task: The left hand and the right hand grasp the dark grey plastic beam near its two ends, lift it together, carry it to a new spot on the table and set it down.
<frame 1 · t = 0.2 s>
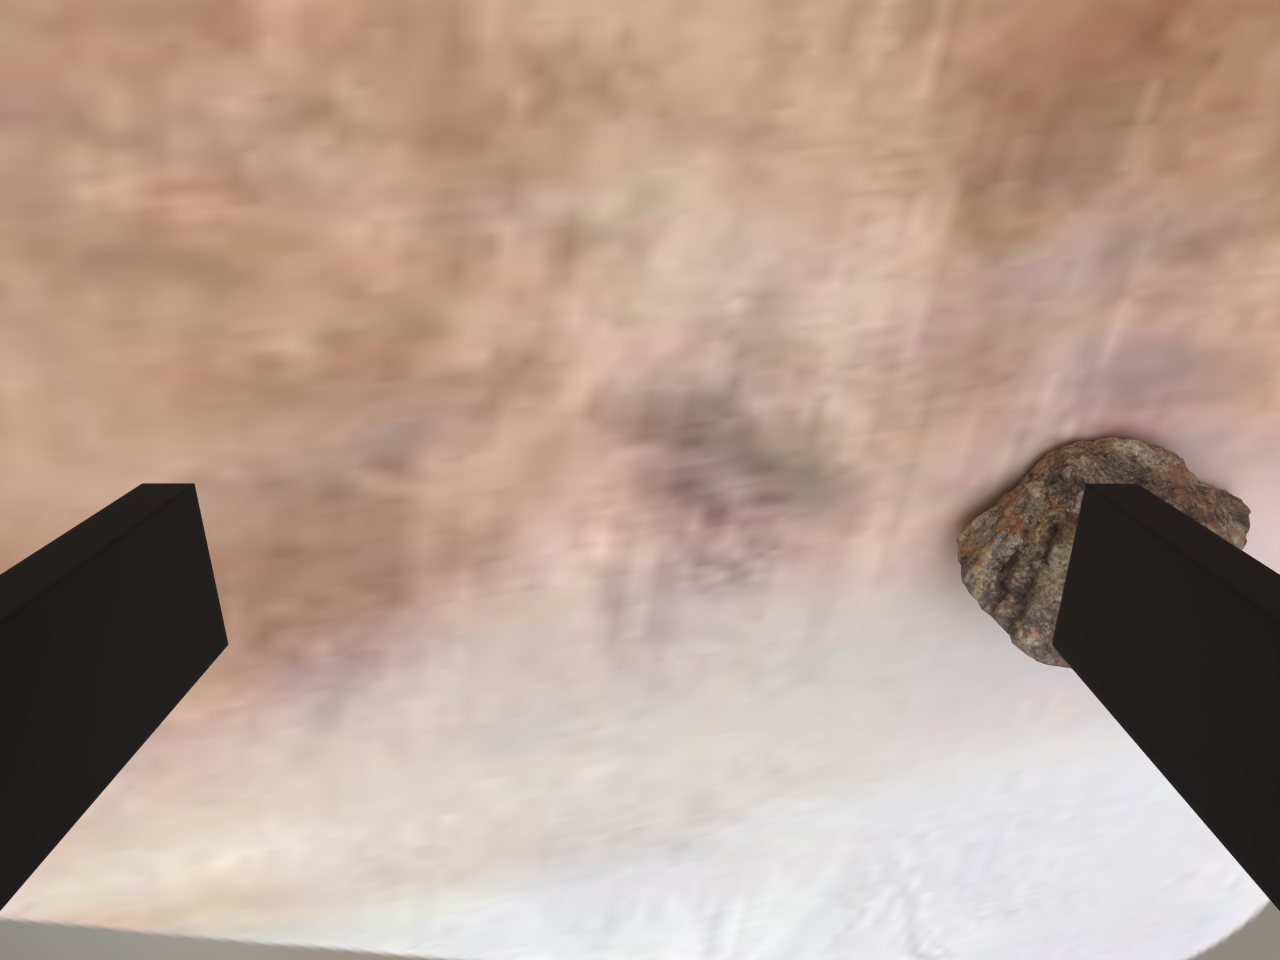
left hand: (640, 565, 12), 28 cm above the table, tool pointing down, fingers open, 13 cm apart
rock: (1090, 523, 43), on the table
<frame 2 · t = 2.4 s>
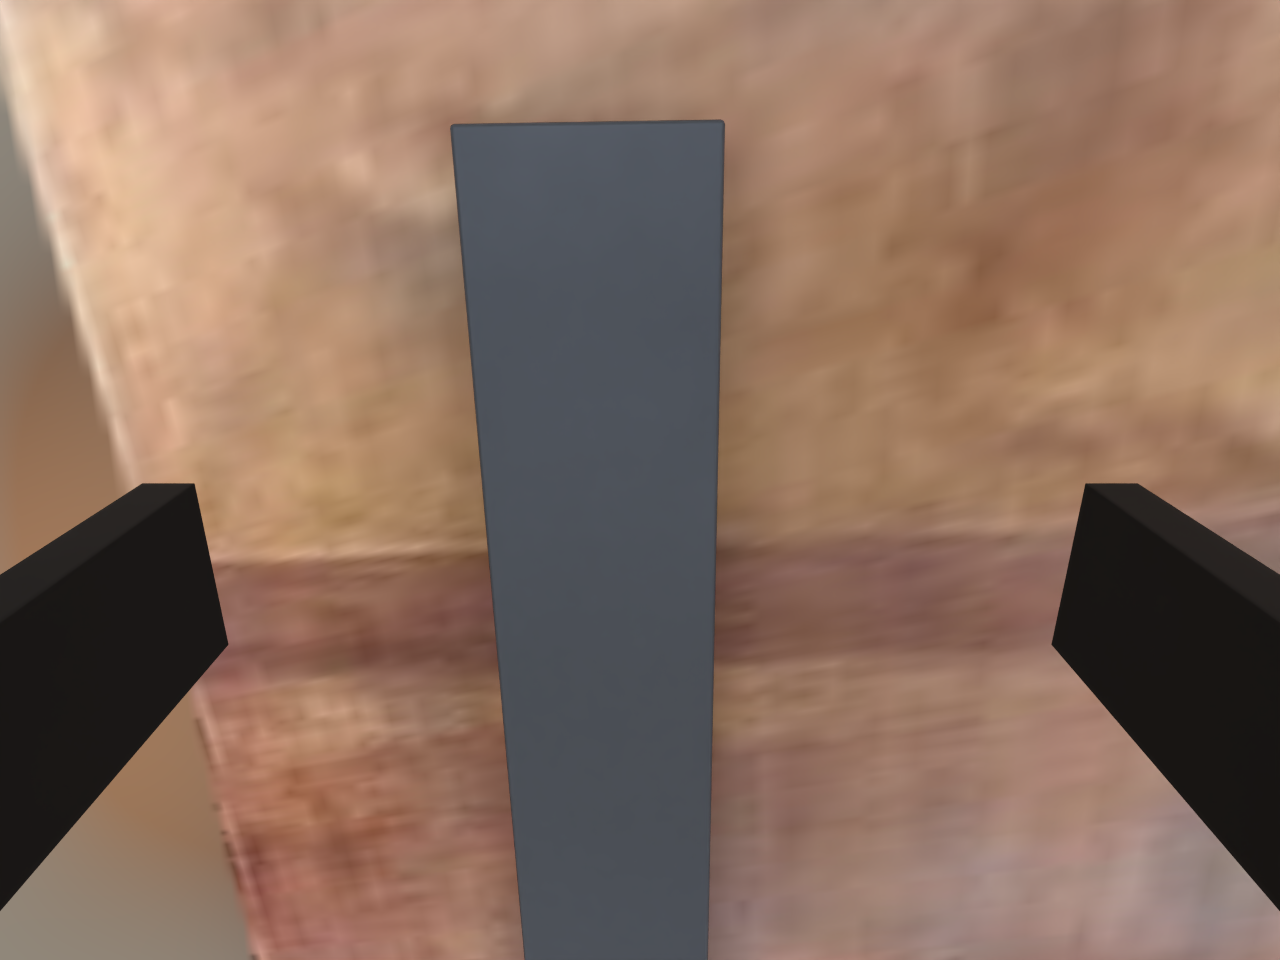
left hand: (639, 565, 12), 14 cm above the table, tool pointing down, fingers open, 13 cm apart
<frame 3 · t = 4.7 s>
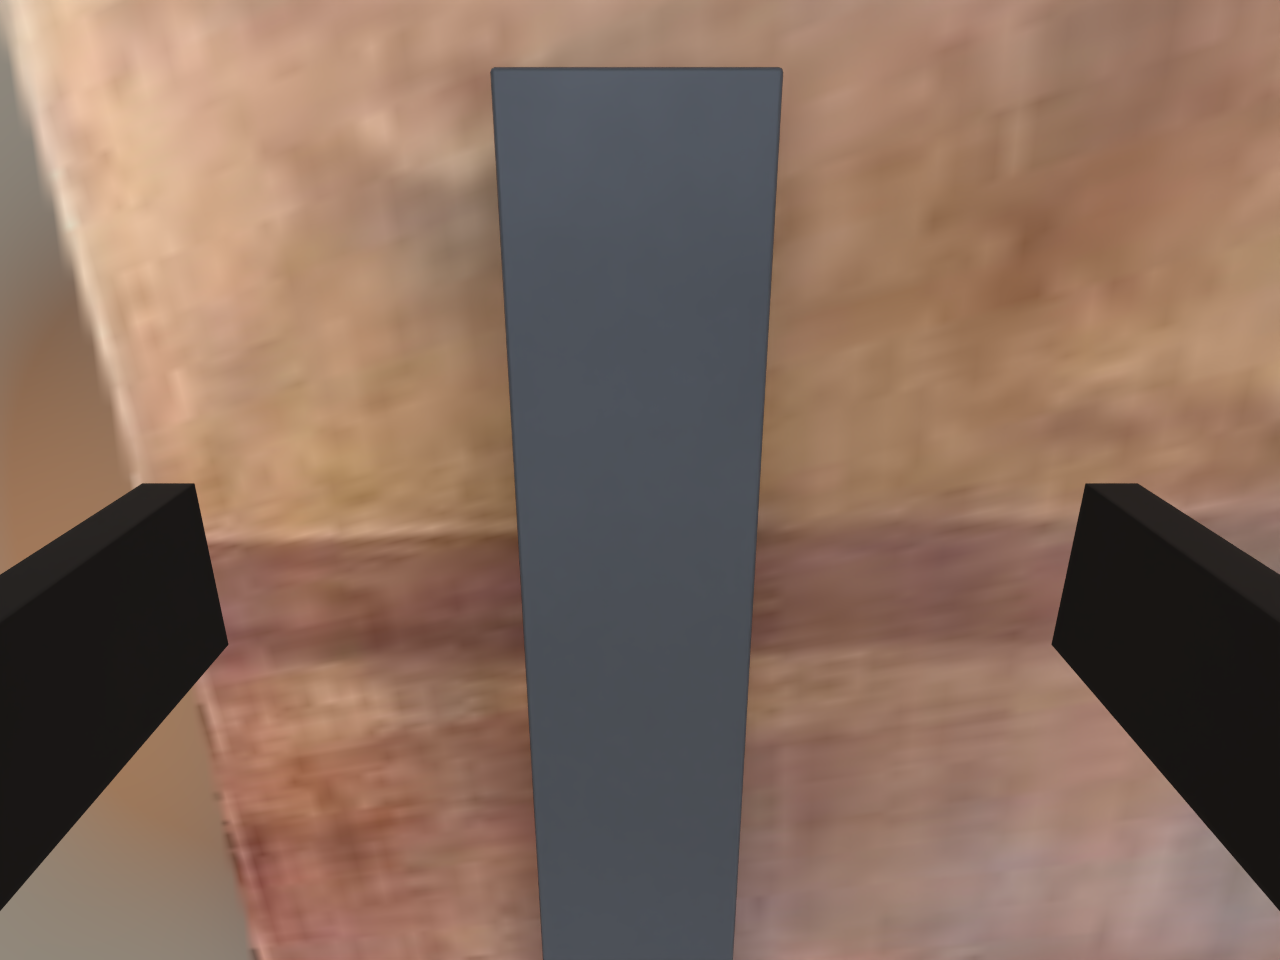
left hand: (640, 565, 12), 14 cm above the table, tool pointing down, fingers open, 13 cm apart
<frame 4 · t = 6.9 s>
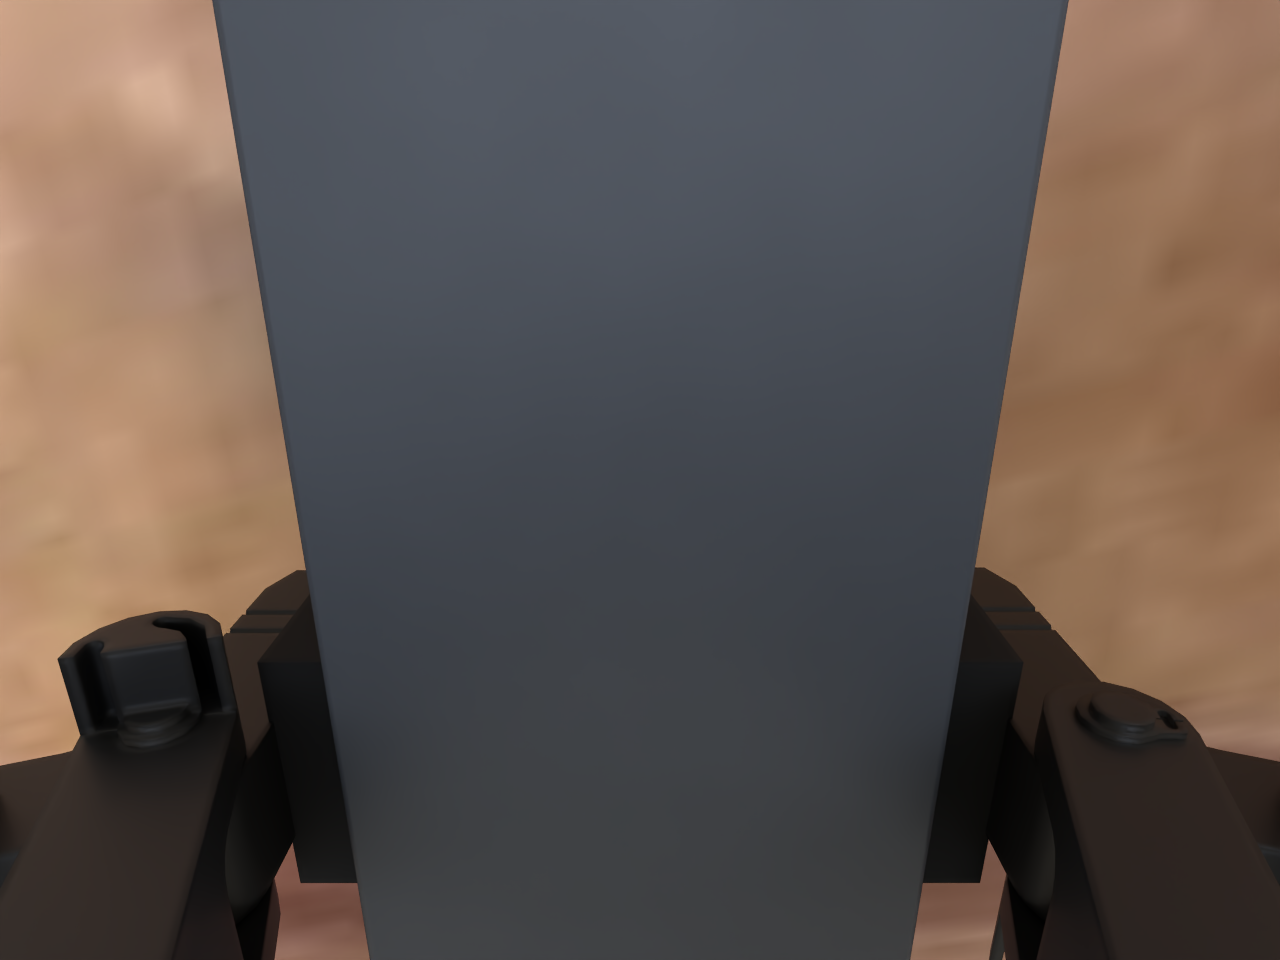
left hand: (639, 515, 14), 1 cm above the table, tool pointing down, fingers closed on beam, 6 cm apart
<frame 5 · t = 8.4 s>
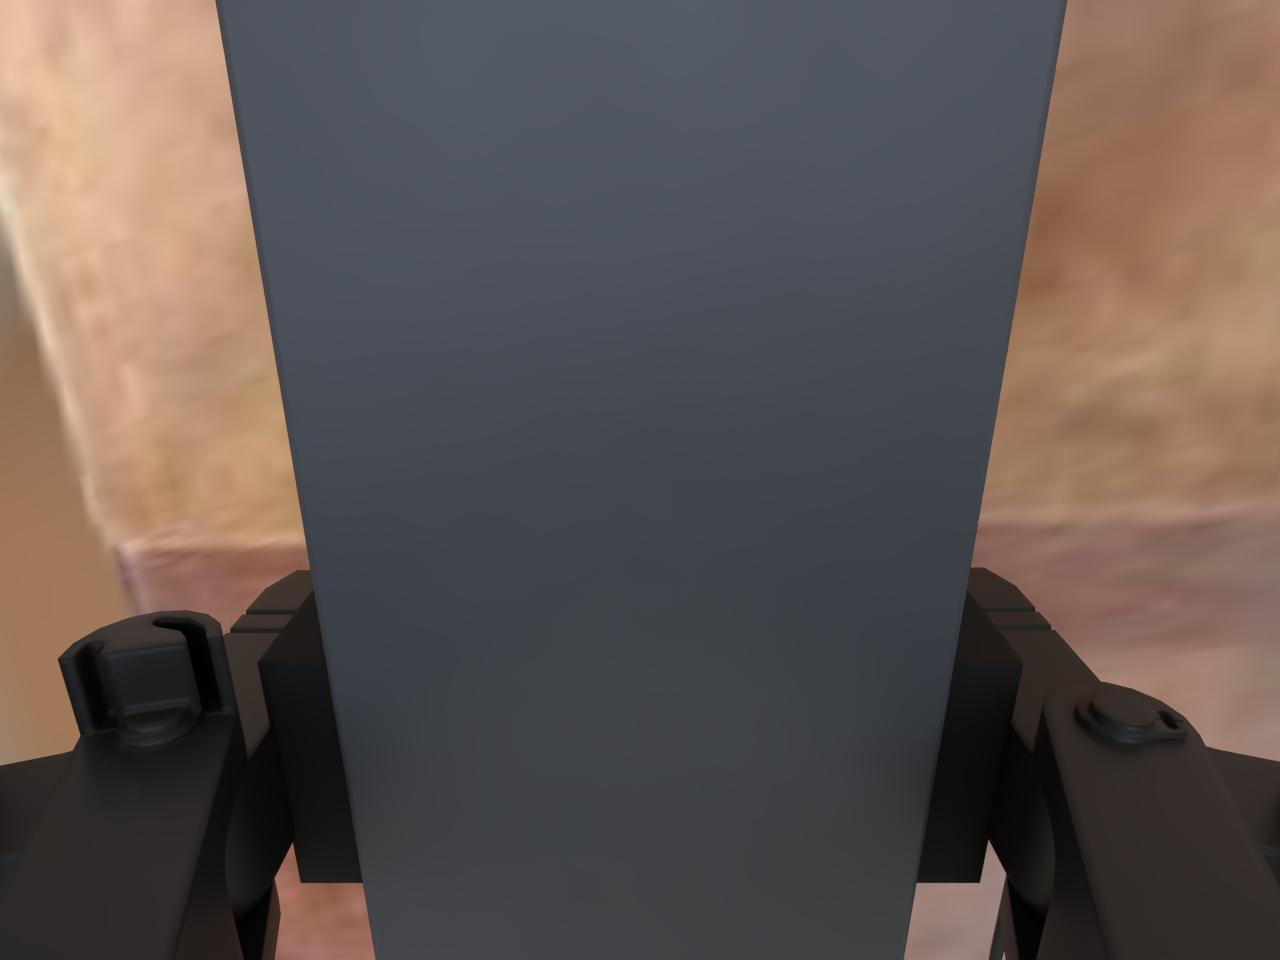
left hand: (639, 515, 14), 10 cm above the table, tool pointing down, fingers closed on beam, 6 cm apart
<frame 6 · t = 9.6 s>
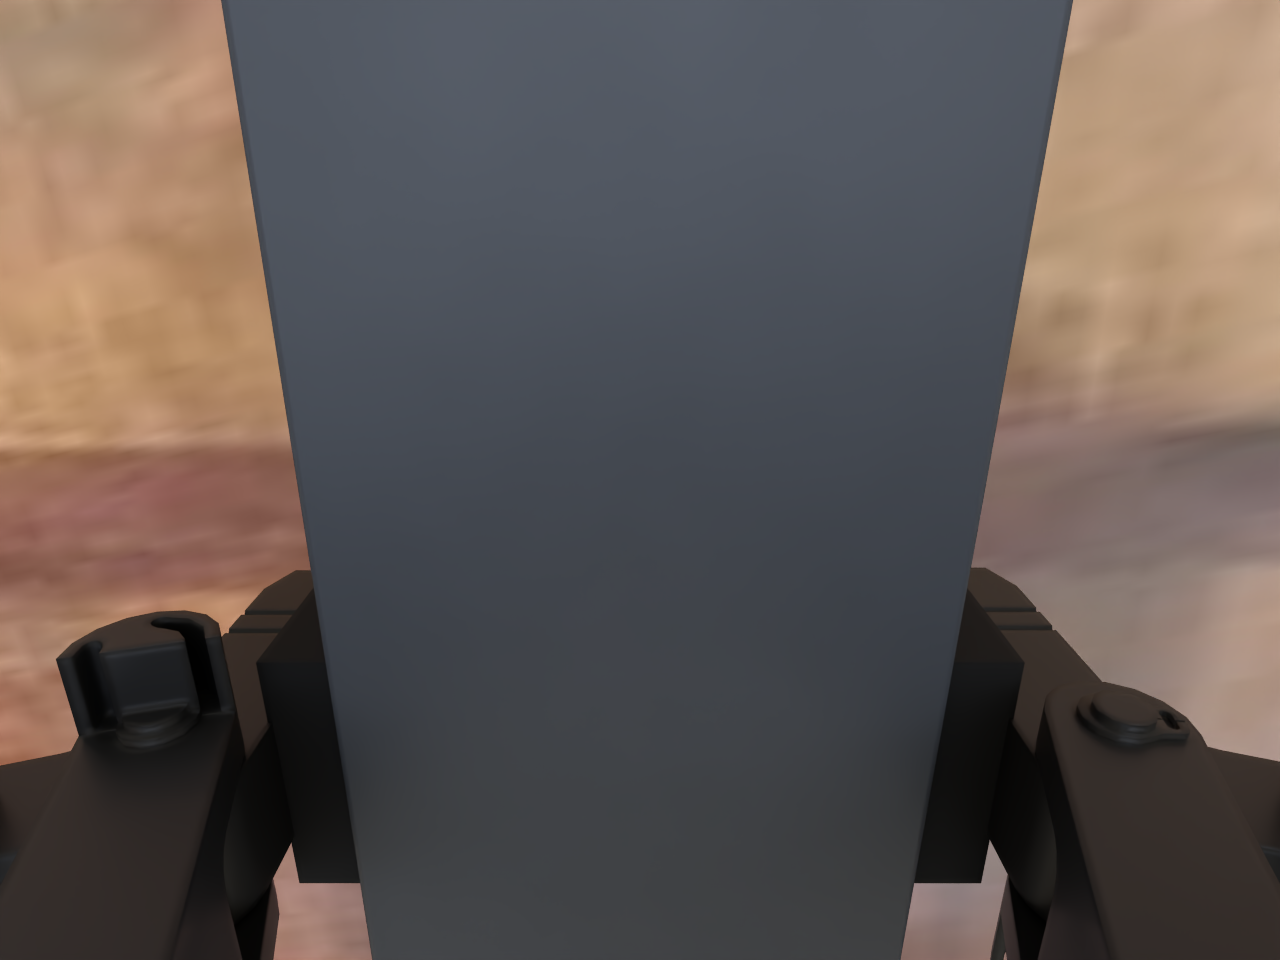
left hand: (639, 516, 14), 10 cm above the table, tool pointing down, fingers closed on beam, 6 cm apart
when the left hand's fingers open (2 cm above the table, at t = 12.2 s): beam drops 1 cm, on the table.
when the right hand's fingers open (4 cm above the table, at t = 12.4 s): beam stays where it is, on the table.
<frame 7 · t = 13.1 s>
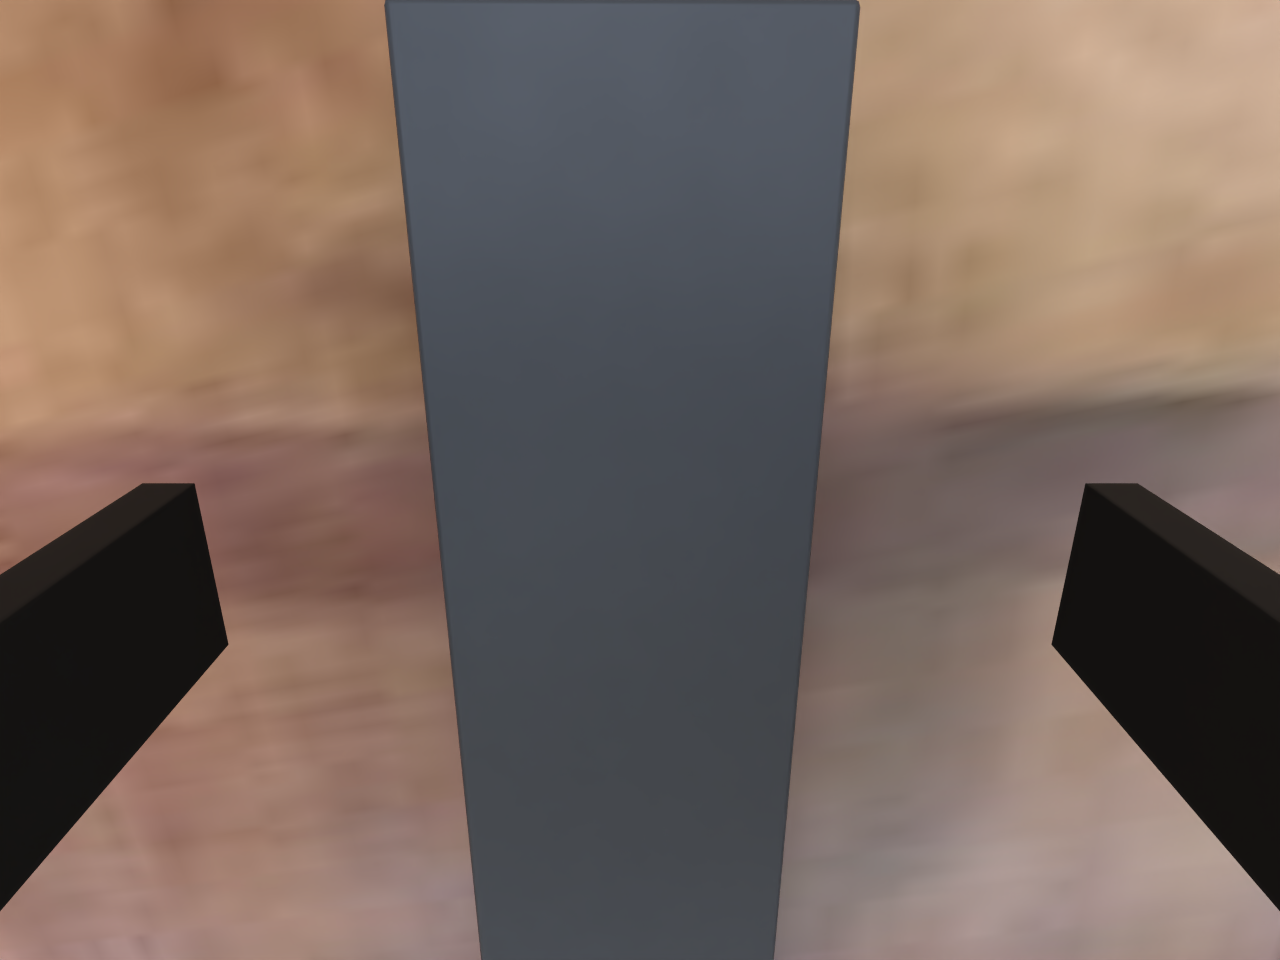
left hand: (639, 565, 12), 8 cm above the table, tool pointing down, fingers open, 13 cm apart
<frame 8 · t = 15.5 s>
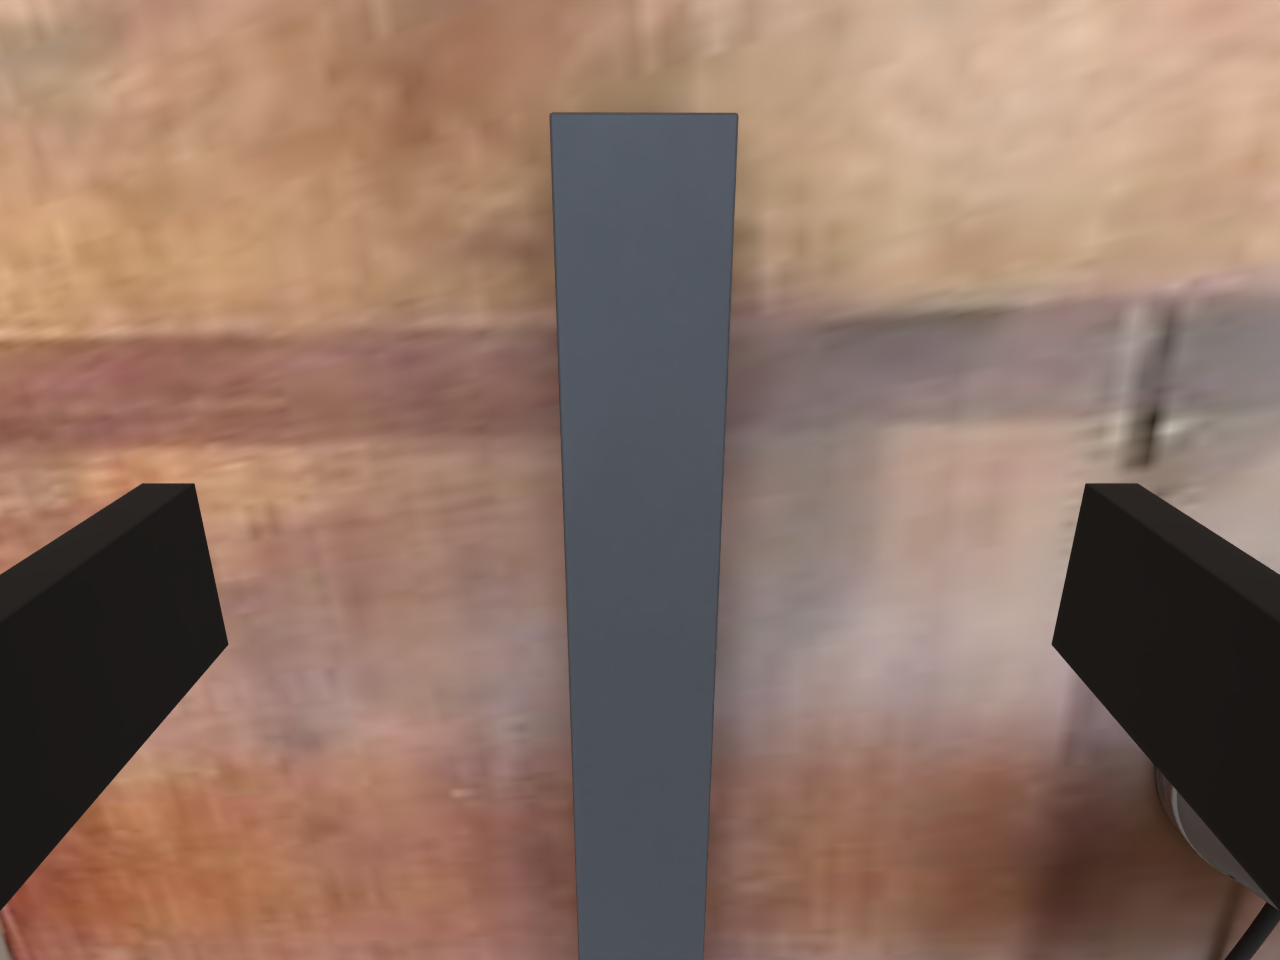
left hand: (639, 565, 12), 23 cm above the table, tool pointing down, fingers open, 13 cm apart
beam: (640, 864, 44), on the table
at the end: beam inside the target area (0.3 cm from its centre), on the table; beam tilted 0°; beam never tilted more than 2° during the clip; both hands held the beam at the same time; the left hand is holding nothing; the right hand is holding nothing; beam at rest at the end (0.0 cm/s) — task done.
